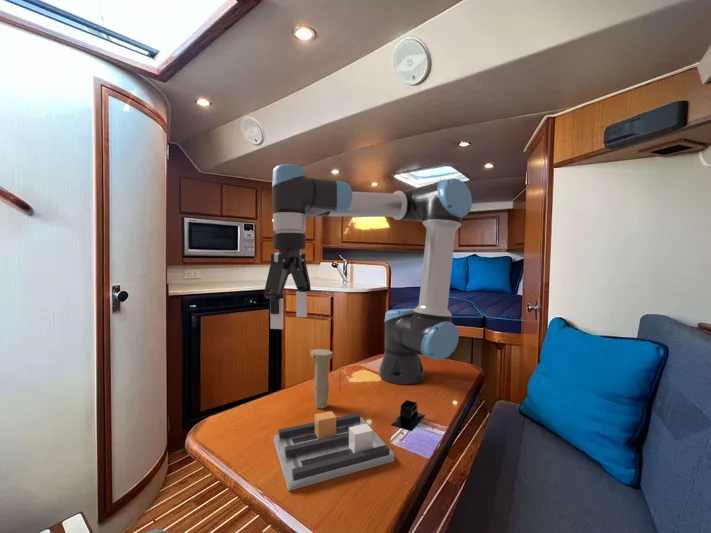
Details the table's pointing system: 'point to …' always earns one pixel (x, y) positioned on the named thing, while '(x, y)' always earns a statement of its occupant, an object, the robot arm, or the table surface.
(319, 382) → the handle
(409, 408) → the black notched stand
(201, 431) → the table surface
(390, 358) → the robot arm
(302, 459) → the panel
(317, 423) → the toggle
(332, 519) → the table surface
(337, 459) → the slotted rail tray
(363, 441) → the toggle
